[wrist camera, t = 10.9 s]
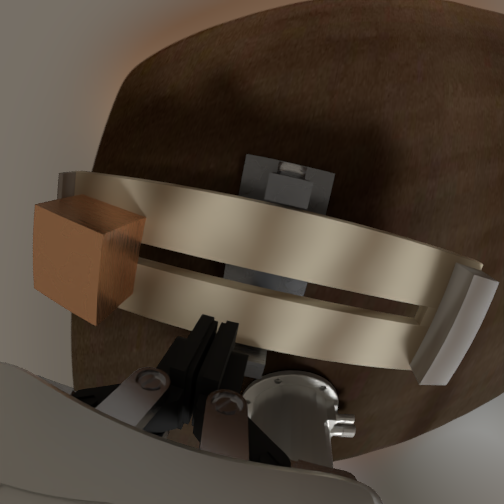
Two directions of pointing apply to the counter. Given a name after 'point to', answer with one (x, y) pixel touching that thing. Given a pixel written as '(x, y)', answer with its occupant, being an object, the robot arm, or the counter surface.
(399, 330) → the beam
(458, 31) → the counter surface
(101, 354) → the counter surface
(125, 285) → the block
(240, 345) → the pivot stand
